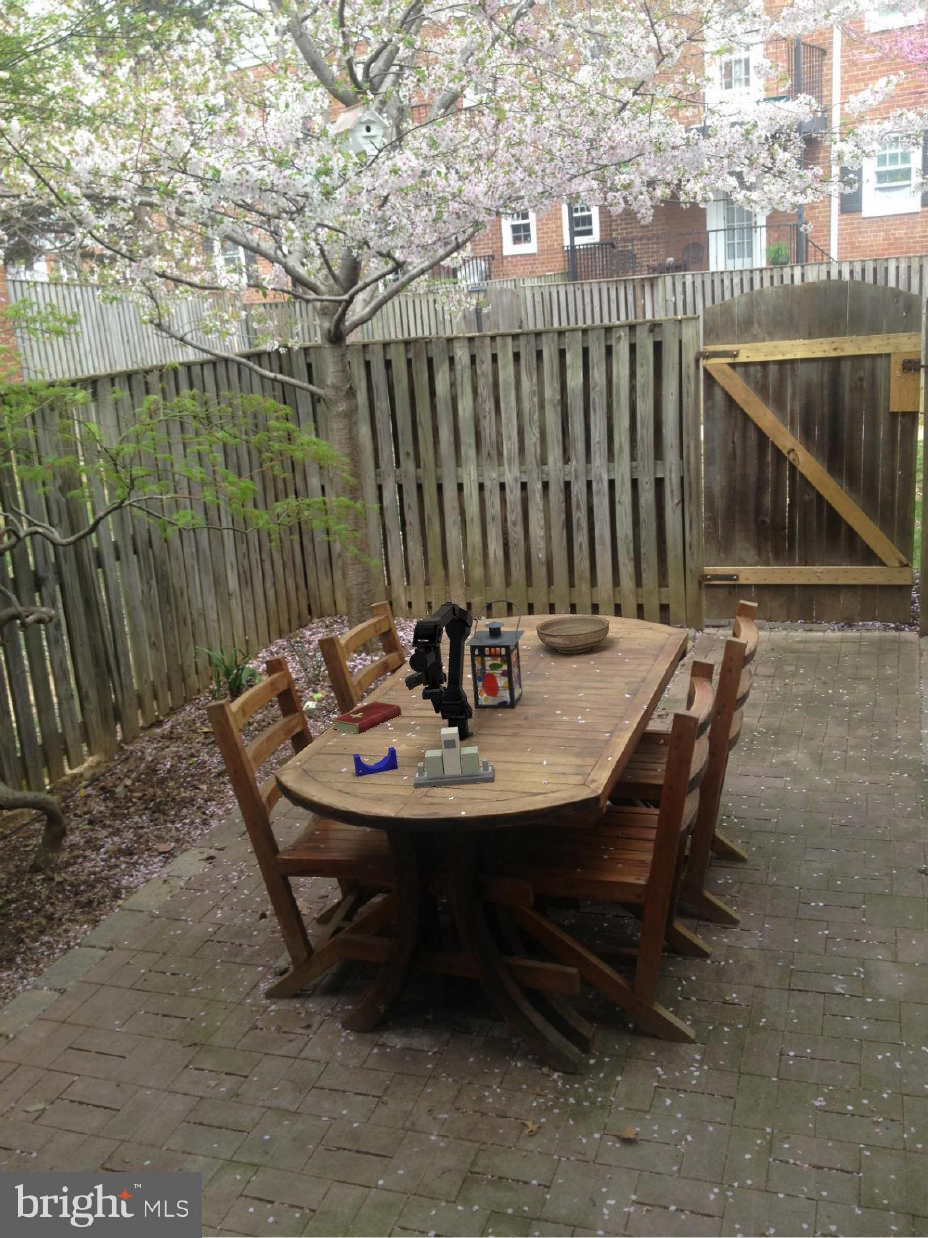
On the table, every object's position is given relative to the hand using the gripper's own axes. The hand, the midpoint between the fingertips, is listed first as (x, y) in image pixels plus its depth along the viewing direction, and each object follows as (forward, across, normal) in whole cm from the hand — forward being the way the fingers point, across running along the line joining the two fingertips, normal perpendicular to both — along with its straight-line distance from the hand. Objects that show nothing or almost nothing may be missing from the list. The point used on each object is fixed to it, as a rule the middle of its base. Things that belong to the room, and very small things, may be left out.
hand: (437, 713), depth 315 cm
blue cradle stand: (+14, +8, -19) cm, 25 cm away
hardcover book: (+14, -36, -27) cm, 47 cm away
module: (+11, +21, +5) cm, 24 cm away
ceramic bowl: (+13, -106, +47) cm, 117 cm away
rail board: (+13, +20, +5) cm, 24 cm away
